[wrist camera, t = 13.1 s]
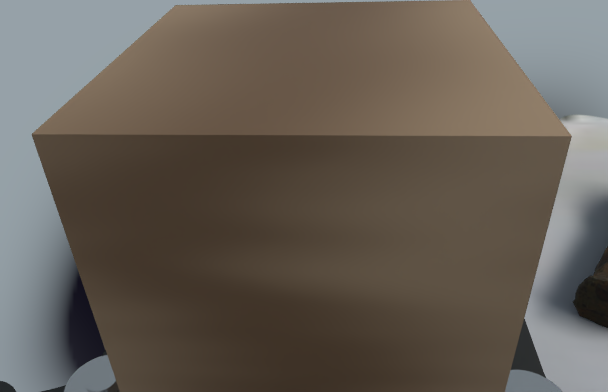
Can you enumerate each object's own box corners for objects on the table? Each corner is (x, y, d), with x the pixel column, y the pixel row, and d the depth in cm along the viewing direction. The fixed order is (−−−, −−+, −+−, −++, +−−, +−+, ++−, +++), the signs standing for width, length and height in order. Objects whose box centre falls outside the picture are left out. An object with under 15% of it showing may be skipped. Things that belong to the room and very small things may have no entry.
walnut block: (411, 454, 16) (469, -1, 9) (432, 669, 12) (571, 136, 5) (245, 445, 16) (176, 5, 9) (208, 650, 12) (30, 134, 5)
